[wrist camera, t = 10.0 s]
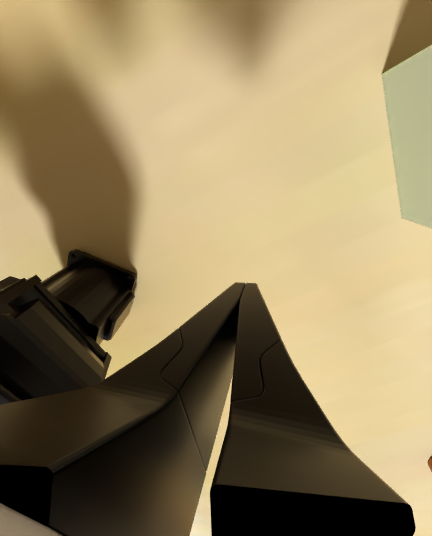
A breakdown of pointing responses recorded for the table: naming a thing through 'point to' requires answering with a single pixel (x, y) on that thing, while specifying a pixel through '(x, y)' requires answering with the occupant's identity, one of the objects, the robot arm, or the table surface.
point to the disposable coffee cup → (430, 463)
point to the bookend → (412, 133)
